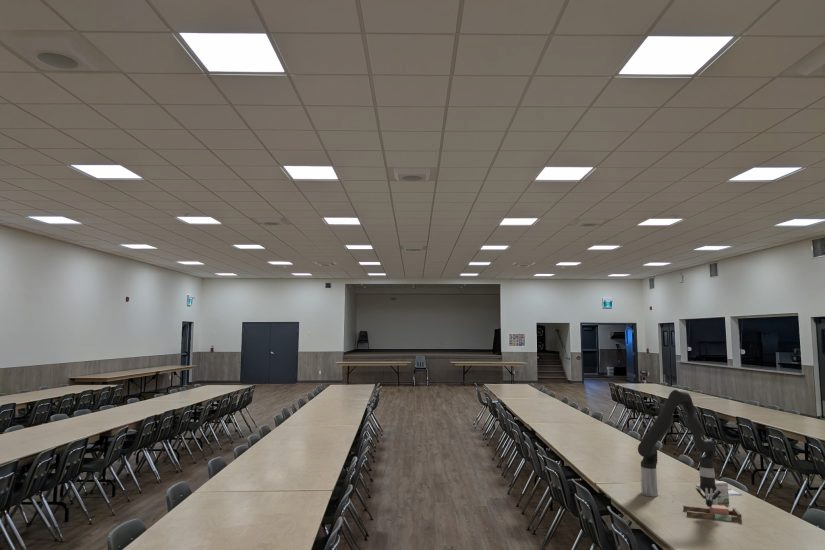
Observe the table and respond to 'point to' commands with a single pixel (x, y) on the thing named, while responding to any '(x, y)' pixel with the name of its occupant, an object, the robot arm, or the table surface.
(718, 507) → the block
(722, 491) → the ink box
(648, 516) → the table surface
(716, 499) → the post
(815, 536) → the table surface
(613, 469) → the table surface
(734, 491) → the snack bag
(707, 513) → the slot track
